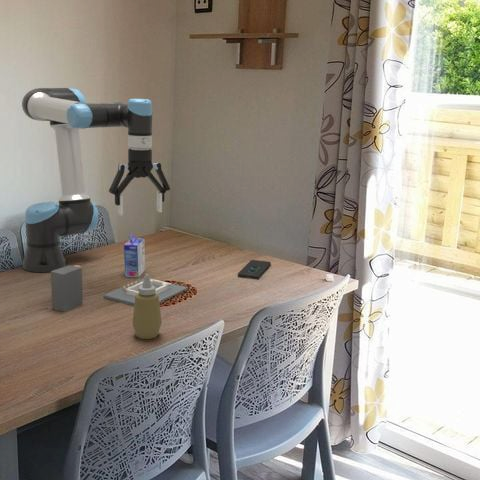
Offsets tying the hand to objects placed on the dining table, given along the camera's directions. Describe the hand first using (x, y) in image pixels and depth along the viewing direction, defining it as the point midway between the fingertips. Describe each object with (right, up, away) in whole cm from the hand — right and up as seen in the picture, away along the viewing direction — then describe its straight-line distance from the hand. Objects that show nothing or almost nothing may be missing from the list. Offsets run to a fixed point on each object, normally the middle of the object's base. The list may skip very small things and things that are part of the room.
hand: (140, 213), depth 209 cm
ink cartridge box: (-6, -21, +23) cm, 32 cm away
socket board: (+2, -27, +3) cm, 27 cm away
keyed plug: (-21, -29, -11) cm, 38 cm away
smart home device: (+38, -21, +32) cm, 54 cm away
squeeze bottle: (+7, -36, -30) cm, 47 cm away
